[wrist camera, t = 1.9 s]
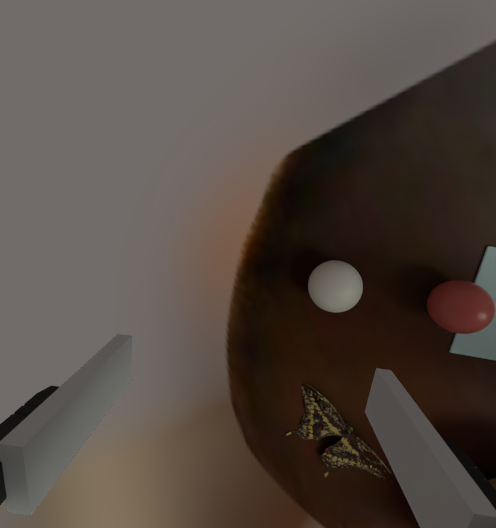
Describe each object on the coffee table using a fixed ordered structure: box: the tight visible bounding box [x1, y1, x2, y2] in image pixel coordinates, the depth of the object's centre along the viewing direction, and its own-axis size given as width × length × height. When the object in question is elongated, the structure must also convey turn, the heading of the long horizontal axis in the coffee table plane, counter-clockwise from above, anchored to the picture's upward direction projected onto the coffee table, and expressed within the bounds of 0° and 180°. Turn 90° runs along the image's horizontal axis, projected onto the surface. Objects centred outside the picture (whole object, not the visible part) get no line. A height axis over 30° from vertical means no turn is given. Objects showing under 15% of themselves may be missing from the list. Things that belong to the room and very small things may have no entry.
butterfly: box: [286, 384, 392, 481], centre depth 38 cm, size 18×4×10 cm
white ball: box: [308, 260, 363, 313], centre depth 31 cm, size 6×6×6 cm
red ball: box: [427, 280, 495, 334], centre depth 30 cm, size 6×6×6 cm
